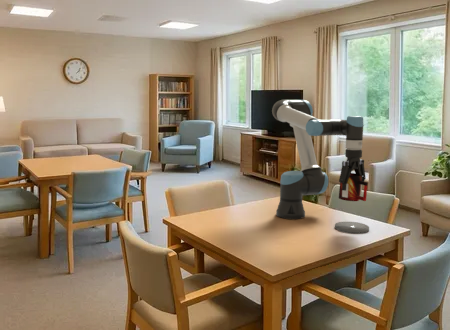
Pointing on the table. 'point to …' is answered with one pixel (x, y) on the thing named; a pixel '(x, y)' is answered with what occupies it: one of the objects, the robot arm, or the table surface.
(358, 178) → the mug
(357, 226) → the plate
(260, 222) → the table surface
